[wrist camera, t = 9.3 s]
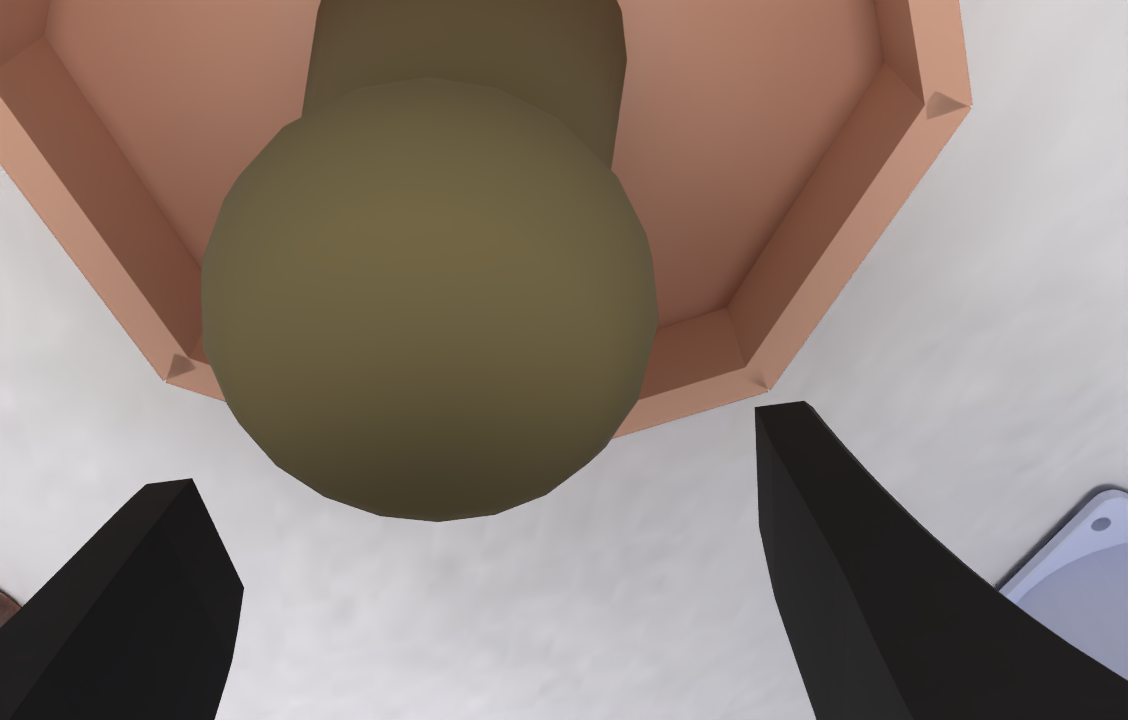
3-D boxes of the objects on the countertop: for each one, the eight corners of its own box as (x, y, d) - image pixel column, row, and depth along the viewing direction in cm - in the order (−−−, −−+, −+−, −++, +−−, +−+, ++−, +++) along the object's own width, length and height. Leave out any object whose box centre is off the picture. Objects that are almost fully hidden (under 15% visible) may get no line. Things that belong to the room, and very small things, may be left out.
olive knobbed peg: (620, 201, 21) (690, 596, 12) (334, 201, 21) (184, 603, 12) (635, -109, 17) (751, 115, 8) (293, -113, 17) (35, 113, 8)
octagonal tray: (649, 459, 26) (662, 541, 23) (-19, 230, 21) (-90, 300, 19) (1082, -195, 17) (1173, -176, 15) (128, -788, 13) (34, -899, 11)
